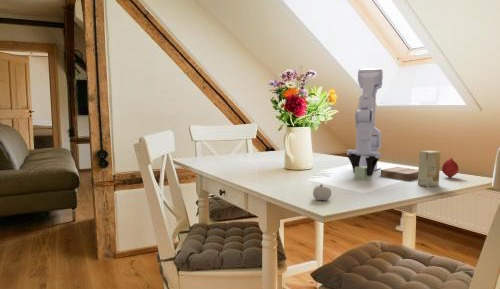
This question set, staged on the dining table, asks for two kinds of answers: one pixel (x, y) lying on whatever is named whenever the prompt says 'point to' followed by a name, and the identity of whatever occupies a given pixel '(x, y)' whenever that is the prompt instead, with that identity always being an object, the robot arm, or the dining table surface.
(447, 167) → the onion
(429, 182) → the skincare box
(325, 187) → the grey pumpkin
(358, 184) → the dining table surface
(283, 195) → the dining table surface
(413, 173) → the light brown block
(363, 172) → the sage cube
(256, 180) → the dining table surface
